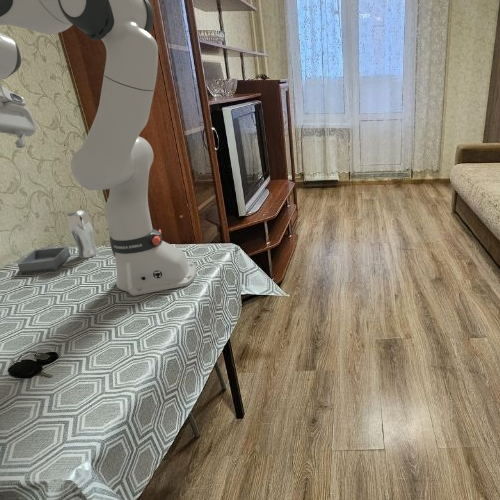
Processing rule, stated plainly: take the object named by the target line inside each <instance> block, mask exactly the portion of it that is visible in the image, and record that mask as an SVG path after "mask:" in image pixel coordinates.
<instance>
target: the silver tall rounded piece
mask: <svg viewBox="0 0 500 500" xmlns="http://www.w3.org/2000/svg"><path fill="white" fill-rule="evenodd" d="M66 219H67V224H68V228H69V231H70V234H71V236H72V238H73V240H74V242H75V244H76V246H77V249H78V258H80V259H90V258H93V257H96V256H97V255H98V254H99V250H98V249H97V247H96V245H95V239H94V229H93V223H92V220H91V217H90V214H89V211H88V210H87V209H77V210H73V211H70V212H68V213H66Z"/></svg>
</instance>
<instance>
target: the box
mask: <svg viewBox="0 0 500 500" xmlns="http://www.w3.org/2000/svg"><path fill="white" fill-rule="evenodd" d="M70 257H71V253H70V250H69V247H68V246H59V247H51V248H50V247H49V248H40V249H33V251H31V252H30V253H29V254H27V255H26V256H25V257H24V258H23V259H22V260H20V261H19V262H18V263H17V267H18V269H19V272H20V275H27V274H37V273H44V272H45V273H47V272H56V271H58V270H59V269H60V268H61V267H62V266H63V265H64V264H65V262H66V261H68V259H69V258H70Z"/></svg>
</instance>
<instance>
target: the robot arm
mask: <svg viewBox="0 0 500 500" xmlns="http://www.w3.org/2000/svg"><path fill="white" fill-rule="evenodd" d="M154 17H155V16H154V10H153V6H152V5H151V3H150V1H149V0H0V26H9V27H10V26H12V27H17V28H20V29H21V28H22V29H25V30H29V31H33V32H37V33H39V34H46V35H55V34H56V35H57V34H58V33H62V32H64V31H67V30H68V29H70V28H71V27H72V26H74V27H76V29H79V30H80V31H82V32H83V33H84V34H85V35H86V36H87V37H88V38H89V39H91V40H92V41H94V42H95V41H100V40H101V41H102V42H103V44H104V47H105V50H106V57H105V64H104V65H105V66H104V70H103V71H104V72H103V77H102V78H103V79H102V84H101V91H100V97H99V105H98V108H97V111H96V114H95V117H94V120H93V122H92V125H91V127H90V129H89V131H88V134H87V136H86V137H85V140H84V141H83V143H82V144H81V146H80V147H79V148H78V149H77V151H76V152H75V153H74V154H73V155H72V158H71V159H70V169H71V173H72V176H73V177H74V179H75V181H76V182H77V183H78V184H79V185H80V186H81V187H83V188H84V189H86V190H88V191H104V190H105V191H106V190H109V193H108V198H107V201H106V203H105V206H104V215H105V218H106V219H105V220H106V223H107V228H108V231H109V234H110V235H109V243H110V248H111V252H112V254H113V256H114V258H115V259H114V260H115V267H116V282H115V285H116V287H117V289H119V290H121V291H124V292H128V294H129V295H130V296H140V295H145V294H150V293H151V294H152V293H154V292H155V293H156V292H160V291H166V290H171V289H176V288H182V287H186V286H189V285H190V284H192V282H194V279H195V278H196V275H197V268H196V264H195V263H194V262H192V261H188V260H187V258H186V256H185V253H184V252H183V250H182V249H180V248H179V247H177V246H174V245H172V244H170V243H168V242H166V241H164V240H163V237H162V230H161V229H158V230H157V229H155V228H153V225H152V219H151V214H150V213H151V212H150V207H149V197H148V196H149V195H148V194H149V193H148V192H149V177H150V176H149V175H150V169H151V166H152V164H153V162H154V159H155V157H154V151H153V148H152V146H151V144H150V143H149V142H148V140H147V139H145V138H144V137H142V136H140V134H141V133H142V131H143V130H144V129H145V127H146V126H147V124H148V122H149V119H150V113H151V108H152V107H151V106H152V104H153V98H154V94H155V93H154V92H155V87H156V82H157V75H158V65H159V46H158V43H157V41H156V39H155V38H154V36H153V35H151V31H152V29H153V25H154V19H155V18H154ZM21 64H22V56H21V52H20V48H19V46H18V44H17V43H16V41H15V40H14V39H13V38H12V37H10V36H8V35H6V34H3V33H1V32H0V134H1V133H2V134H6V135H7V134H9V135H15V136H16V137H17V138H18V139H17V140H16V141H15V142H14V144H15V147H16V148H17V149H24V148H25V147H26V144H25V138H26V137H28V138H29V137H32V136H33V135H34V133H36V131H37V124H36V121H35V119H34V117H33V114H32V112H31V110H30V109H29V108H28V107H27V106H26V105H27V100H26V99H25V98H24V97H23V96H21V95H18V94H16V93H14V92H13V91H11V90H9V89H7V88H6V87H4V86H3V84H2V80H6V79H8V78H10V76H12V75H13V74H15V73H16V72H17V71H18V70H19V69H20V68H21Z"/></svg>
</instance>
